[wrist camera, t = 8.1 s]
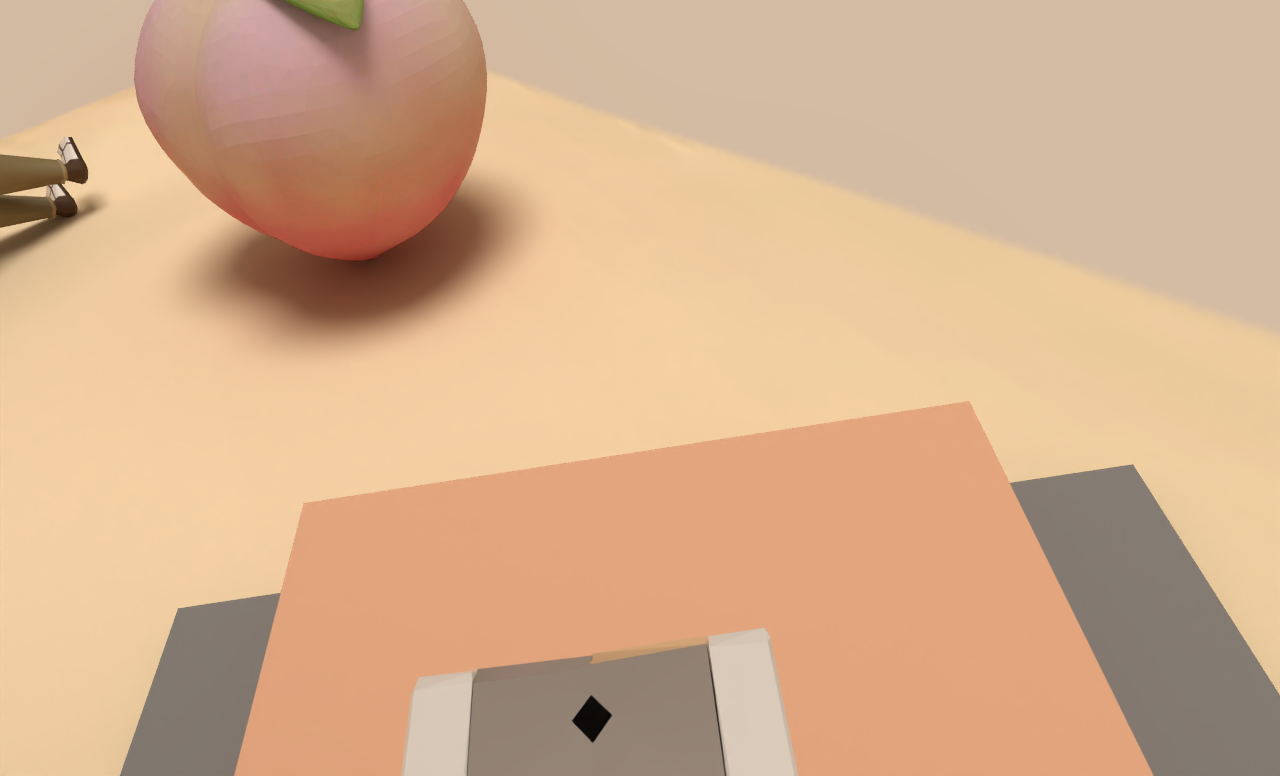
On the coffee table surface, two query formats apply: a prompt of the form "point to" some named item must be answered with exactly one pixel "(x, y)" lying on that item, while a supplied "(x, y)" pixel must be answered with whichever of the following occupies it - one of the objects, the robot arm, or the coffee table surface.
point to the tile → (708, 600)
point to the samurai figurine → (40, 185)
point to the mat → (1074, 546)
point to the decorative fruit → (317, 112)
